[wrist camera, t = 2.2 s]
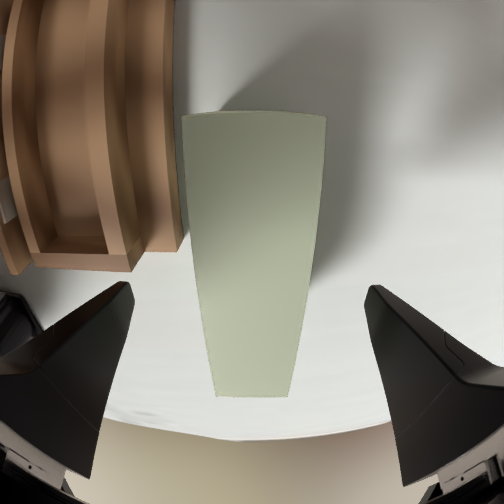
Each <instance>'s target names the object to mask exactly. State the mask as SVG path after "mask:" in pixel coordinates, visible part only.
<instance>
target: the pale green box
mask: <svg viewBox="0 0 504 504" xmlns="http://www.w3.org/2000/svg"><path fill="white" fill-rule="evenodd" d="M326 118H327V117H324V116H318V115H311V114H304V113H297V112H285V111H215V112H206V113H198V114H191V115H184V116H182V138H183V156H184V171H185V185H186V197H187V208H188V218H189V228H190V237H191V246H192V254H193V262H194V270H195V278H196V285H197V292H198V299H199V305H200V312H201V318H202V324H203V330H204V336H205V342H206V348H207V353H208V358H209V364H210V369H211V374H212V379H213V384H214V389H215V394H216V396H226V397H288V392H289V388H290V384H291V379H292V374H293V370H294V365H295V360H296V355H297V350H298V345H299V340H300V335H301V330H302V324H303V319H304V313H305V307H306V301H307V295H308V289H309V283H310V276H311V270H312V263H313V256H314V248H315V241H316V233H317V225H318V216H319V207H320V198H321V187H322V176H323V165H324V151H325V136H326Z"/></svg>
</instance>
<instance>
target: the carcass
mask: <svg viewBox="0 0 504 504" xmlns="http://www.w3.org/2000/svg"><path fill="white" fill-rule="evenodd" d="M174 6H175V0H0V249H1V252H2V254H3V257H4V260H5V262H6V265H7V267H8V270H9V272H10V274H12V275H20V273H21V272H22V271H23V270H24V269H25V268H26V267H27V266H28V265H29V264H30V263H31V262H32V261H34V264H35V267H43V268H58V269H74V270H92V271H111V272H132V270H133V269H134V267H135V266H136V264H137V262H138V261H139V259H140V258H141V256H142V255H143V253H144V252H177V251H178V249H179V247H180V245H181V243H182V241H183V231H182V222H181V213H180V204H179V193H178V182H177V170H176V156H175V140H174V119H173V24H174Z"/></svg>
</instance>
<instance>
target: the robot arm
mask: <svg viewBox="0 0 504 504" xmlns="http://www.w3.org/2000/svg"><path fill="white" fill-rule="evenodd" d="M134 305H135V299H134V296H133V292H132V289H131V286H130V283H129V282H124V281H119V282H117V283H115V284H114V285H112V286H111V287H109V288H108V289H106V290H104V291H103V292H101V293H100V294H98V295H97V296H95V297H94V298H92V299H91V300H89V301H88V302H86V303H84V304H83V305H81V306H80V307H78V308H77V309H75V310H74V311H72V312H71V313H69V314H68V315H66V316H65V317H64V318H62V319H61V320H59V321H58V322H56V323H55V324H54V325H52V326H50V327H49V328H48V329H46V330H45V331H43V332H42V331H41V329H40V327H39V325H38V324H37V322H36V320H35V318H34V317H33V315H32V313H31V311H30V309H29V307H28V305H27V303H26V301H25V299H24V298H23V297H22V296H21V295H18V294H13V293H8V292H3V291H0V504H89V503H87V502H84V501H82V500H80V499H78V498H76V497H75V496H74V495H73V493H72V491H71V489H70V488H69V486H68V483H67V481H66V479H65V478H64V475H65V471H66V469H67V470H69V471H71V472H73V473H75V474H78V475H80V476H82V477H85V478H87V479H90V476H91V470H92V465H93V460H94V454H95V450H96V445H97V440H98V436H99V430H100V427H101V422H102V418H103V414H104V411H105V407H106V403H107V399H108V396H109V392H110V389H111V385H112V382H113V378H114V375H115V372H116V369H117V365H118V362H119V359H120V356H121V353H122V350H123V347H124V344H125V341H126V338H127V334H128V330H129V325H130V321H131V317H132V313H133V309H134ZM364 309H365V313H366V318H367V323H368V329H369V334H370V339H371V343H372V347H373V350H374V354H375V357H376V360H377V364H378V368H379V371H380V375H381V379H382V383H383V386H384V390H385V394H386V398H387V403H388V407H389V411H390V416H391V420H392V425H393V430H394V435H395V440H396V446H397V451H398V457H399V463H400V470H401V476H402V483H403V486H404V487H405V486H408V485H411V484H413V483H416V482H418V481H421V480H423V479H426V478H428V477H430V476H433V475H435V474H438V478H439V482H438V483H436V484H434V485H432V486H430V487H428V489H427V491H426V493H425V494H424V496H423V498H422V499H421V501H420V502H419V504H504V367H500V366H496V365H494V364H492V363H491V362H489V361H488V360H486V359H485V358H483V357H482V356H480V355H479V354H477V353H476V352H474V351H472V350H471V349H469V348H468V347H466V346H465V345H464V344H462V343H461V342H459V341H458V340H456V339H455V338H454V337H452V336H451V335H450V334H448V333H447V332H446V331H444V330H443V329H442V328H440V327H439V326H438V325H436V324H435V323H434V322H432V321H431V320H429V319H428V318H427V317H425V316H424V315H423V314H421V313H420V312H418V311H417V310H416V309H414V308H413V307H412V306H410V305H409V304H407V303H406V302H404V301H403V300H402V299H400V298H399V297H397V296H396V295H394V294H393V293H392V292H390V291H389V290H387V289H386V288H384V287H383V286H381V285H371V286H370V287H369V289H368V293H367V296H366V299H365V303H364Z"/></svg>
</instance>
